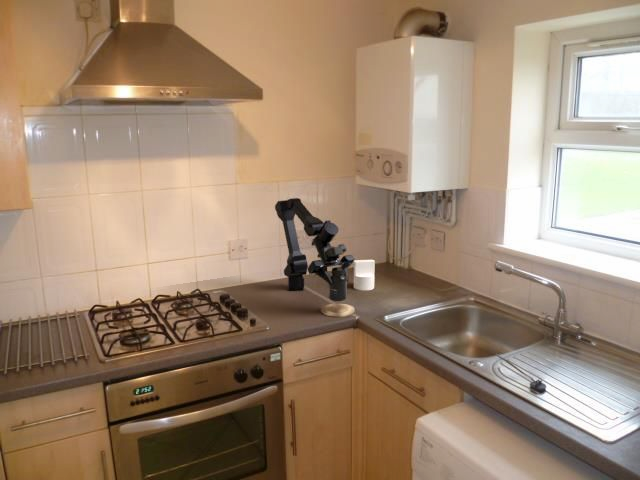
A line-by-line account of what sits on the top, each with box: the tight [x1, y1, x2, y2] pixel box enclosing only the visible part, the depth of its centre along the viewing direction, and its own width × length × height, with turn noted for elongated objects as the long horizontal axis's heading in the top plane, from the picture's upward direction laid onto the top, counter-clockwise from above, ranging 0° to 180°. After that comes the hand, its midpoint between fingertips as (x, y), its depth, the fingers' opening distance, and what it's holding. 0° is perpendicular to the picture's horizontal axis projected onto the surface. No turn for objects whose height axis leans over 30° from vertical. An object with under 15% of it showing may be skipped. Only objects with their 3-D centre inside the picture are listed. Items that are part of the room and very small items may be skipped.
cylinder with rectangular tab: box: [353, 259, 376, 291], centre depth 237 cm, size 9×9×12 cm
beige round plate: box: [320, 303, 356, 318], centre depth 209 cm, size 13×13×1 cm
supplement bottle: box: [328, 266, 348, 302], centre depth 207 cm, size 7×7×12 cm
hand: (339, 283), depth 205 cm, fingers closed on supplement bottle, 7 cm apart
